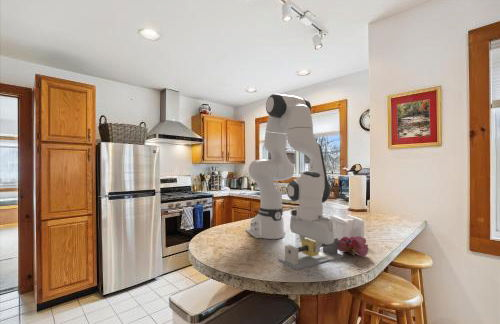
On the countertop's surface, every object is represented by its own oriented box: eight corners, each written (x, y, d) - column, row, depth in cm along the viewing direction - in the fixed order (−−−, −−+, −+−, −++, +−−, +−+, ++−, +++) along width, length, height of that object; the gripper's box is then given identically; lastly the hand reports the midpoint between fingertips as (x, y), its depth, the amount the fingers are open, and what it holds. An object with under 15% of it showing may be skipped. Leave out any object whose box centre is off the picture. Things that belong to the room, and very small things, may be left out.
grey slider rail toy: (278, 260, 92) (278, 241, 92) (323, 249, 105) (324, 233, 105) (296, 270, 83) (297, 249, 83) (343, 256, 96) (343, 239, 96)
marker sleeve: (301, 252, 95) (301, 239, 95) (309, 250, 97) (309, 238, 97) (311, 256, 90) (311, 243, 90) (318, 254, 92) (318, 241, 93)
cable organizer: (365, 245, 111) (366, 220, 111) (345, 246, 109) (345, 221, 109) (346, 236, 126) (347, 213, 126) (328, 237, 124) (328, 214, 124)
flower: (340, 258, 103) (348, 237, 107) (363, 268, 96) (371, 245, 99) (329, 248, 97) (339, 225, 100) (353, 257, 89) (363, 233, 93)
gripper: (338, 218, 87) (337, 257, 86) (299, 208, 104) (298, 241, 104) (326, 219, 83) (325, 260, 83) (287, 210, 101) (287, 243, 101)
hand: (310, 249), depth 94 cm, fingers closed on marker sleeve, 5 cm apart
